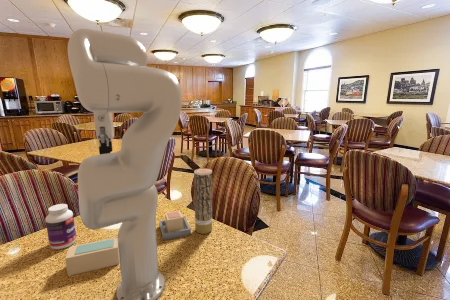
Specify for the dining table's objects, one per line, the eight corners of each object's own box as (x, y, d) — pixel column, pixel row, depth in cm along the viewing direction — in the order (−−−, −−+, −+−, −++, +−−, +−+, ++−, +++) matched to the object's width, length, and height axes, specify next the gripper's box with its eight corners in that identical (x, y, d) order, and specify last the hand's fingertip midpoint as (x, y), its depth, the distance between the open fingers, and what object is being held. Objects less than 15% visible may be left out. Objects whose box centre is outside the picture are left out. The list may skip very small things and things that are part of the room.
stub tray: (190, 234, 90) (190, 229, 90) (163, 240, 86) (162, 234, 86) (184, 221, 100) (184, 216, 99) (159, 226, 96) (159, 221, 95)
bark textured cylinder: (214, 232, 92) (214, 172, 86) (197, 236, 89) (196, 174, 84) (209, 224, 98) (208, 167, 93) (193, 227, 95) (192, 169, 90)
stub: (183, 231, 91) (183, 216, 90) (168, 234, 89) (167, 219, 88) (180, 223, 97) (179, 209, 95) (165, 226, 94) (165, 212, 93)
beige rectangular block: (119, 264, 74) (117, 246, 72) (67, 276, 68) (64, 258, 67) (119, 252, 79) (118, 236, 78) (71, 263, 74) (68, 246, 73)
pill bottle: (73, 248, 81) (67, 210, 78) (46, 252, 79) (39, 214, 76) (79, 235, 89) (74, 200, 86) (55, 239, 86) (49, 203, 83)
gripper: (112, 106, 71) (117, 159, 75) (115, 104, 87) (119, 149, 91) (84, 106, 69) (91, 161, 72) (92, 104, 84) (97, 150, 88)
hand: (106, 154), depth 81 cm, fingers open, 9 cm apart
